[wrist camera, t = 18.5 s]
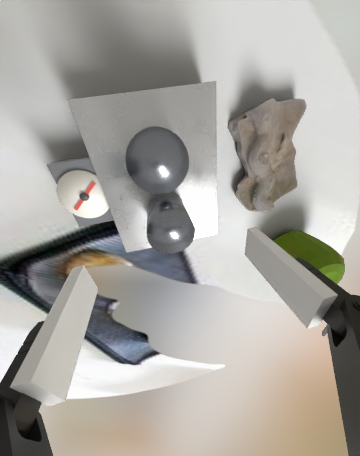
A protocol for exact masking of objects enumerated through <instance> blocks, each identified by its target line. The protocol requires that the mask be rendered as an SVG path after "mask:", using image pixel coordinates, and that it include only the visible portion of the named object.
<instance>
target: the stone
mask: <svg viewBox="0 0 360 456" xmlns="http://www.w3.org/2000/svg"><path fill="white" fill-rule="evenodd" d="M306 107H307V106H306V103H305V100H304V99H287V100H284V101H278V102H277V101H276V100H275V99H274V98H271V99H269V100H267V101H265V102H263V103H262V104H260V105H259V106H257V107H254V108H252V109H250V110H248V111H246V112H244V113H243V114H241V115H239V116H238V117H236V118H234V119H232V120H231V121H230V122H229V125H228V129H229V131H230V133H231V135H232V137H233V139H234V140H235V141H236V143H237V147H236V148H237V154H238V156H239V158H240V160H241V161H242V165H243V166H244V169H245V176H244V177H243V179H242V180H241V181H240V182H239V183H238V185H237V190H236V193H235V196H236V197H237V198H238V200H239V201H240V202H241V203H242V204H243V205H244V207H245V208H246V209H247V210H250V211H259V212H268V211H271V210H272V209H273V208H274V206H273V203H274V202H275V201H276V200H277V199H278V198H280V197H281V196H283V195H285V194H287V193H288V192H290V191H292V190H293V189H295V188H296V187H297V180H296V171H295V165H294V159H295V154H296V150H295V148H294V146H293V143H292V137H293V134H294V131H295V129H296V127H297V125H298V123H299V121H300V119H301V118H302V116H303V114H304V112H305V110H306Z"/></svg>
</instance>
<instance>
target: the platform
mask: <svg viewBox="0 0 360 456" xmlns="http://www.w3.org/2000/svg"><path fill="white" fill-rule="evenodd" d="M68 103H69V105H70V108H71V110H72V113H73V116H74V118H75V121H76V123H77V126H78V128H79V131H80V134H81V136H82V139H83V141H84V144H85V147H86V149H87V152H88V154H89V157H90V159H91V162H92V165H93V167H94V170H95V172H96V175H97V178H98V180H99V183H100V185H101V188H102V190H103V193H104V196H105V198H106V201H107V203H108V206H109V209H110V211H111V214H112V216H113V219H114V221H115V224H116V227H117V229H118V232H119V234H120V237H121V240H122V242H123V245H124V247H125V250H126V252H131V251H136V250H141V249H146V248H151V247H152V246H151V245H150V244H149V242H148V240H147V207H148V204H149V202H150V200H151V199H152V198H153V197H154V196H155V195H157V194H154V193H150V192H147V191H145V190H143V189H141V188H140V187H139V186H137V185H136V184H135V183H134V181H133V180H132V179H131V177H130V175H129V173H128V171H127V168H126V161H125V157H126V150H127V147H128V144H129V143H130V141H131V139H132V138H133V137H134V136H135V135H136V134H137V133H138V132H140V131H141V130H143V129H145V128H147V127H151V126H158V127H163V128H166V129H168V130H171V131H172V132H174V133H175V134H176V135H178V136H179V137H180V139H181V140H182V141H183V143H184V144H185V146H186V149H187V151H188V155H189V168H188V172H187V175H186V177H185V179H184V181H183V182H182V183H181V184H180V185H179V186H178V187H177V188H176V189H174V190H173V191H170V193H173V194H176V195H177V196H179V197H180V198H181V200H182V201H183V203H184V205H185V207H186V209H187V211H188V213H189V215H190V217H191V219H192V221H193V223H194V226H195V237H194V239H195V238H200V237H205V236H210V235H215V234H217V148H216V81H213V82H205V83H197V84H189V85H181V86H173V87H165V88H157V89H149V90H141V91H133V92H125V93H117V94H109V95H101V96H93V97H85V98H77V99H69V100H68Z"/></svg>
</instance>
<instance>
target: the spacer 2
mask: <svg viewBox="0 0 360 456" xmlns="http://www.w3.org/2000/svg"><path fill="white" fill-rule="evenodd" d="M194 237H195V226H194V223H193V221H192V219H191V217H190V215H189V213H188V211H187V209H186V207H185V205H184V203H183V201H182V200H181V198H180V197H179V196H177V195H176V194H173V193H170V192H168V193H163V194H157V195H155V196H154V197H153V198H152V199H151V200H150V202H149V204H148V207H147V240H148V242H149V244H150V245H151V246H152V247H153V248H154V249H155V250H157V251H159V252H162V253H169V254H170V253H177V252H180V251H182V250H184V249H185V248H187V247H188V246H189V245H190V244H191V243H192V241H193V239H194Z"/></svg>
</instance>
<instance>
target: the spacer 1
mask: <svg viewBox="0 0 360 456" xmlns="http://www.w3.org/2000/svg"><path fill="white" fill-rule="evenodd" d="M125 161H126V168H127V171H128V173H129V175H130V177H131V179H132V180H133V181H134V183H135V184H136V185H137V186H139V187H140V188H141V189H143V190H145V191H147V192H150V193H154V194H163V193H168V192H170V191H173V190H174V189H176V188H177V187H178V186H179V185H180V184H181V183H182V182H183V181H184V179H185V177H186V175H187V172H188V168H189V155H188V151H187V149H186V146H185V144H184V143H183V141H182V140H181V139H180V137H179V136H178V135H176V134H175V133H174V132H172V131H171V130H168V129H166V128H163V127H158V126H151V127H147V128H145V129H143V130H141V131H140V132H138V133H137V134H136V135H135V136H134V137H133V138H132V139H131V141H130V143H129V144H128V147H127V150H126V157H125Z"/></svg>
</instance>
